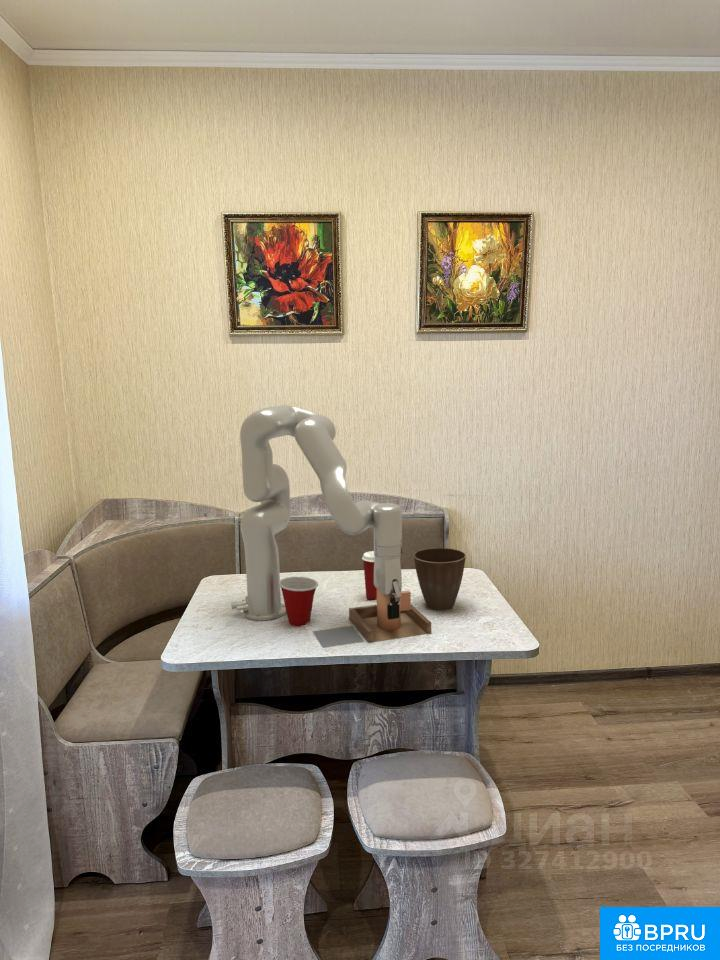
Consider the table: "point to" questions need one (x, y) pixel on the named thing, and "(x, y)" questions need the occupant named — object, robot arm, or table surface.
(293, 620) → the plastic cup
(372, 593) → the paper cup
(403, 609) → the tan tapered cylinder
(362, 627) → the brown tray
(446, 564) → the plant pot
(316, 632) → the coaster
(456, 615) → the table surface
